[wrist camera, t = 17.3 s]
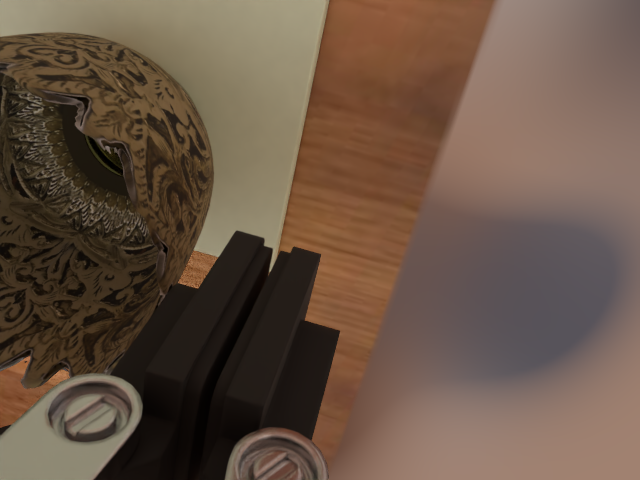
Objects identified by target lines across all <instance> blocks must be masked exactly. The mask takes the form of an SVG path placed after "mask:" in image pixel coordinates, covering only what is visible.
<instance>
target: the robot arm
mask: <svg viewBox="0 0 640 480" xmlns="http://www.w3.org/2000/svg"><path fill="white" fill-rule="evenodd" d="M264 243H265V239H264V238H263V237H259V236H256V235H252V234H249V233H245V232H242V231H238V230H237V231H235V233H234V234H233V236H232V237H231V239H230V240H229V242H228V243H227V245H226V246H225V248H224V250H223V251H222V253H221V254H220V256H219V257H218V259H217V260H216V262H215V264H214V265H213V267H212V268H211V270H210V271H209V273H208V274H207V276H206V278H205V279H204V281H203V282H202V284H201V285H200V287H199V288H198V289H196V288H193V287H189V286H186V285H182V284H179V283H177V284H175V285H174V286H173V287H172V288H171V289H170V291H169V292H168V293H167V295H166V296H165V298H164V299H163V300H162V302H161V303H160V305H159V306H158V307H157V309H156V310H155V312H154V313H153V315H152V316H151V317H150V319H149V320H148V322H147V323H146V324H145V326H144V327H143V329H142V330H141V331H140V333H139V334H138V336H137V337H136V338H135V340H134V341H133V343H132V344H131V345H130V347H129V348H128V350H127V351H126V352H125V354H124V355H123V357H122V358H121V359H120V361H119V362H118V364H117V365H116V366H115V368H114V369H113V371H112V372H111V373H110V375H109V374H97V373H90V374H84V375H78V376H74V377H72V378H69V379H67V380H64V381H62V382H60V383H59V384H57V385H56V386H55V387H53V388H52V389H50V390H49V391H48V392H47V393H46V394H45V395H44V396H42V397H41V398H40V399H39V400H38V401H37V402H36V403H35V404H34V405H33V406H32V407H31V408H30V409H28V410H27V411H26V412H25V413H24V414H23V415H22V416H21V417H20V418H19V419H18V420H17V421H16V422H14V423H13V424H12V425H9V426H5V427H2V428H0V480H329V475H328V467H327V462H326V460H325V458H324V456H323V454H322V452H321V451H320V449H319V448H318V447H317V446H316V445H315V444H314V443H313V442H312V441H311V440H312V437H313V433H314V429H315V425H316V421H317V418H318V414H319V410H320V406H321V402H322V398H323V395H324V391H325V387H326V383H327V379H328V376H329V372H330V368H331V364H332V360H333V357H334V353H335V349H336V345H337V341H338V337H339V334H340V331H339V330H335V329H332V328H328V327H325V326H322V325H318V324H315V323H311V322H308V321H305V317H306V313H307V309H308V305H309V301H310V297H311V293H312V289H313V285H314V282H315V278H316V274H317V270H318V266H319V262H320V257H321V254H318V253H315V252H311V251H308V250H304V249H301V248H297V247H293V249H292V251H291V253H288V252H284V251H280V253H279V255H278V257H277V259H276V261H275V263H274V265H273V267H272V269H271V271H270V274H269V269H270V264H271V259H272V253H273V248H270V247H267V246H264ZM268 274H269V276H268Z"/></svg>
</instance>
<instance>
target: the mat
mask: <svg viewBox="0 0 640 480" xmlns="http://www.w3.org/2000/svg"><path fill="white" fill-rule="evenodd" d="M328 5H329V0H0V37H2V36H11V35H19V34H32V33H49V32H64V33H78V34H85V35H91V36H96V37H101V38H105V39H108V40H111V41H115V42H117V43H120V44H122V45H124V46H127V47H129V48H131V49H133V50H135V51H137V52H139V53H141V54H142V55H144V56H146V57H148V58H149V59H151V60H152V61H153V62H155V63H156V64H158V65H159V66H160V67H161V68H163V69H164V70H165V71H166V72H167V73H168V74H170V75H171V76H172V77H173V78H174V79H175V80H176V81H178V82H179V83H180V84H181V85H182V86H183V87H184V88H185V90H186V91H187V92H188V94H189V95H190V97H191V98H192V100H193V102H194V104H195V106H196V108H197V111H198V112H199V114H200V116H201V118H202V120H203V123H204V125H205V128H206V130H207V134H208V137H209V140H210V145H211V150H212V156H213V165H214V184H213V191H212V197H211V202H210V207H209V210H208V213H207V217H206V220H205V223H204V226H203V229H202V231H201V234H200V236H199V239H198V241H197V243H196V245H195V248H194V250H195V251H198V252H202V253H205V254H209V255H212V256H216V257H219V256H220V254H221V253H222V251H223V250H224V248H225V246H226V245H227V243H228V242H229V240H230V239H231V237H232V236H233V234H234V233H235V231H237V230H238V231H242V232H245V233H249V234H252V235H256V236H259V237H263V238H264V239H265V243H264V246H267V247H270V248H273V253H272V259H271V264H270V269H269V272H270V271H271V269H272V267H273V265H274V263H275V261H276V259H277V254H278V249H279V244H280V239H281V235H282V230H283V225H284V220H285V215H286V210H287V205H288V200H289V195H290V191H291V186H292V181H293V176H294V171H295V166H296V161H297V156H298V151H299V147H300V142H301V137H302V132H303V127H304V122H305V117H306V112H307V107H308V103H309V98H310V93H311V88H312V83H313V78H314V73H315V68H316V63H317V59H318V54H319V49H320V44H321V39H322V34H323V29H324V24H325V19H326V15H327V10H328Z"/></svg>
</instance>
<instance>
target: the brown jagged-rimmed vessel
mask: <svg viewBox="0 0 640 480" xmlns="http://www.w3.org/2000/svg"><path fill="white" fill-rule="evenodd" d="M213 184H214V165H213V156H212V150H211V145H210V140H209V137H208V134H207V130H206V128H205V125H204V123H203V120H202V118H201V116H200V114H199V112H198V111H197V108H196V106H195V104H194V102H193V100H192V98H191V97H190V95H189V94H188V92H187V91H186V90H185V88H184V87H183V86H182V85H181V84H180V83H179V82H178V81H176V80H175V79H174V78H173V77H172V76H171V75H170V74H168V73H167V72H166V71H165V70H164V69H163V68H161V67H160V66H159V65H158V64H156V63H155V62H153V61H152V60H151V59H149V58H148V57H146V56H144V55H142V54H141V53H139V52H137V51H135V50H133V49H131V48H129V47H127V46H124V45H122V44H120V43H117V42H115V41H111V40H108V39H105V38H101V37H96V36H91V35H85V34H78V33H64V32H49V33H32V34H19V35H11V36H2V37H0V371H2V370H4V369H6V368H9V367H11V366H13V365H15V364H16V363H18V362H20V361H21V360H23V359H24V358H26V357H28V356H30V357H31V358H30V362H29V364H28V366H27V369H26V371H25V374H24V377H23V378H22V379H21V383H22V385H23V387H24V388H36V387H39V386H42V385H43V384H44V383H45V382H47V381H48V380H49V379H50V378H51V377H52V376H53V375H55V374H56V373H57V372H58V371H59V370H61V369H63V370H65V371H68V370H67V369H69V371H68V372H69V376H70V378H72V377H74V376H78V375H84V374H90V373H97V374H109V375H110V373H111V372H112V371H113V369H114V368H115V366H116V365H117V364H118V362H119V361H120V359H121V358H122V357H123V355H124V354H125V352H126V351H127V350H128V348H129V347H130V345H131V344H132V343H133V341H134V340H135V338H136V337H137V336H138V334H139V333H140V331H141V330H142V329H143V327H144V326H145V324H146V323H147V322H148V320H149V319H150V317H151V316H152V315H153V313H154V312H155V310H156V309H157V307H158V306H159V305H160V303H161V302H162V300H163V299H164V298H165V296H166V295H167V293H168V292H169V291H170V289H171V288H172V287H173V286H174V285H175V284H177V283H178V281H179V279H180V277H181V275H182V273H183V271H184V269H185V267H186V265H187V262H188V260H189V258H190V256H191V254H192V252H193V250H194V248H195V245H196V243H197V241H198V239H199V236H200V234H201V231H202V229H203V226H204V223H205V220H206V217H207V213H208V210H209V207H210V202H211V197H212V191H213ZM26 362H27V361H25V363H26ZM66 368H67V369H66Z"/></svg>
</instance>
